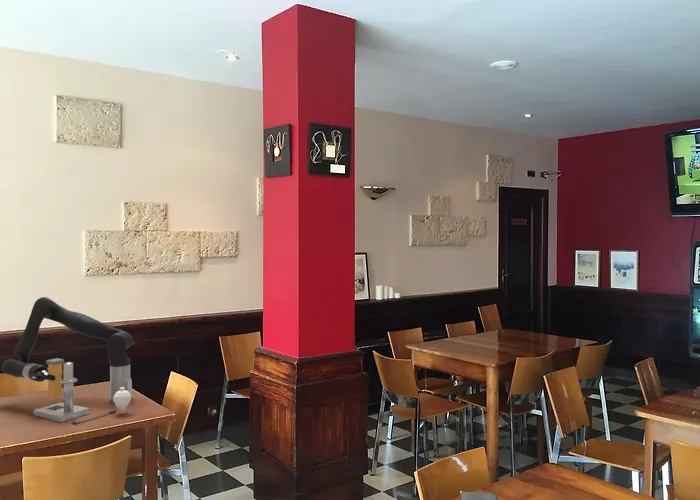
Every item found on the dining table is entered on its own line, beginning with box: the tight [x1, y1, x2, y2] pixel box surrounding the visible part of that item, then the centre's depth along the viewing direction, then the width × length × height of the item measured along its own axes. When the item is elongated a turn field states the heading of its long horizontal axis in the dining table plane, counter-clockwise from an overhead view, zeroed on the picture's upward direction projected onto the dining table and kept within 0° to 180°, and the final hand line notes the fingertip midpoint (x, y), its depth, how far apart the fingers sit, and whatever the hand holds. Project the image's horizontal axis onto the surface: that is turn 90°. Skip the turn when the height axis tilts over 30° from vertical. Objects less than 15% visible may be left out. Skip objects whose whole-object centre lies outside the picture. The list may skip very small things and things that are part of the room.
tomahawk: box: [71, 409, 117, 427], centre depth 260 cm, size 21×7×1 cm, turn 146°
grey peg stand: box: [33, 361, 90, 423], centre depth 266 cm, size 19×14×24 cm
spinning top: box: [112, 387, 132, 415], centre depth 268 cm, size 8×8×12 cm
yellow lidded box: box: [45, 357, 65, 399], centre depth 268 cm, size 5×5×16 cm
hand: (59, 377), depth 266 cm, fingers closed on yellow lidded box, 4 cm apart
